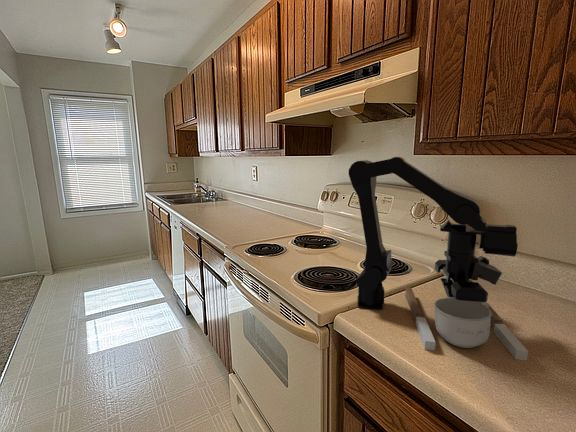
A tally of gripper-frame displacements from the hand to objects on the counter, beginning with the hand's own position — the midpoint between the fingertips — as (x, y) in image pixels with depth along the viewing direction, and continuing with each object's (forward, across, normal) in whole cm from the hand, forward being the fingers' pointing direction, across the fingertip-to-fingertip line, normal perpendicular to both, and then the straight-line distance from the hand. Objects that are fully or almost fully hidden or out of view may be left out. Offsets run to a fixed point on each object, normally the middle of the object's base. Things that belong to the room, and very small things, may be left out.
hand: (455, 311), depth 75 cm
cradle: (+3, +4, 0) cm, 5 cm away
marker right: (+3, -8, -8) cm, 12 cm away
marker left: (+2, -8, +9) cm, 12 cm away
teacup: (+3, -8, 0) cm, 8 cm away
